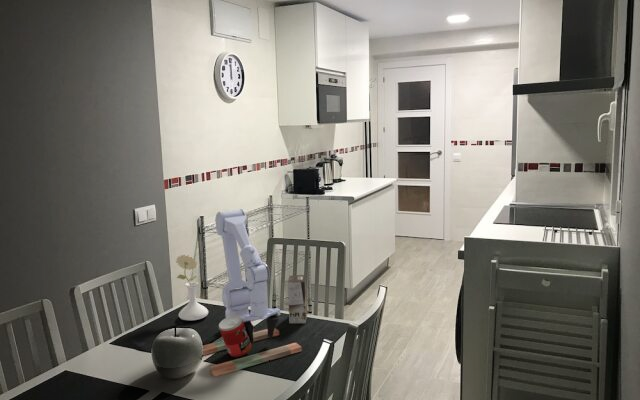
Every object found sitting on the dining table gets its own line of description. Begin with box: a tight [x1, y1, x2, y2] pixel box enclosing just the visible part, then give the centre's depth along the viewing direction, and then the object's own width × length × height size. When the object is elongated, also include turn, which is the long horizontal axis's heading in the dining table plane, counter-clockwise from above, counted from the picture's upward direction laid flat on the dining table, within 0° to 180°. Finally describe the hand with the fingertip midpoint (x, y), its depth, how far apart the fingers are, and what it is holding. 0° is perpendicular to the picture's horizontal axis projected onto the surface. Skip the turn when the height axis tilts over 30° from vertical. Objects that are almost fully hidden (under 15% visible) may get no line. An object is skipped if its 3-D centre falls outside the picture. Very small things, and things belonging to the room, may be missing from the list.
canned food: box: [218, 315, 252, 358], centre depth 169 cm, size 8×8×11 cm
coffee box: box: [287, 274, 308, 324], centre depth 198 cm, size 9×6×16 cm
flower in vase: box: [175, 254, 209, 322], centre depth 202 cm, size 13×11×25 cm
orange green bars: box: [202, 327, 303, 377], centre depth 172 cm, size 20×30×2 cm, turn 122°
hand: (260, 339), depth 174 cm, fingers open, 6 cm apart
